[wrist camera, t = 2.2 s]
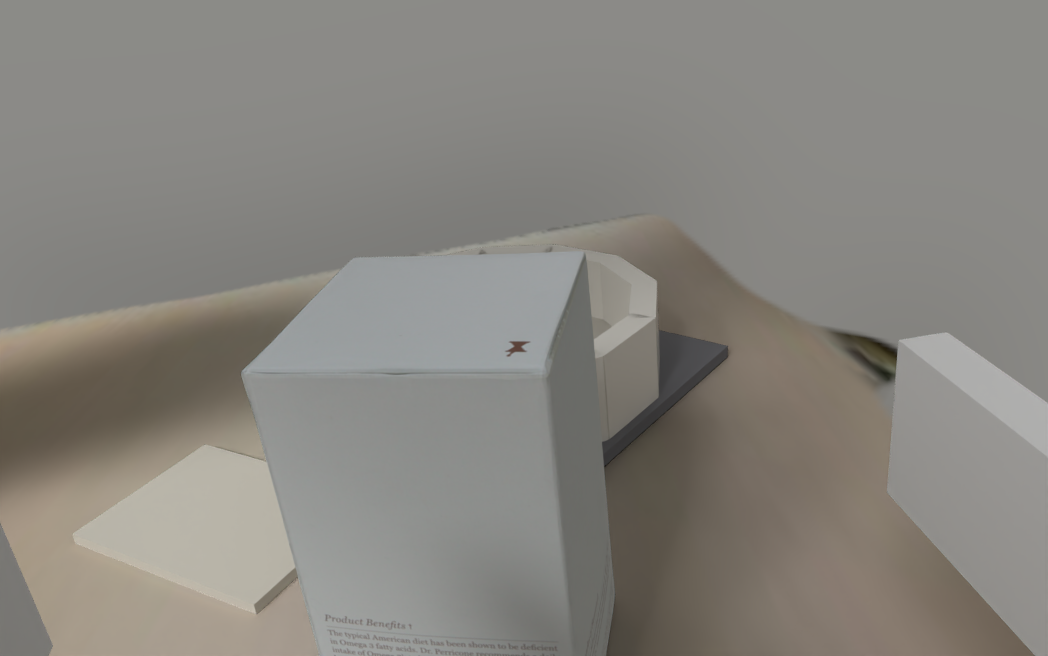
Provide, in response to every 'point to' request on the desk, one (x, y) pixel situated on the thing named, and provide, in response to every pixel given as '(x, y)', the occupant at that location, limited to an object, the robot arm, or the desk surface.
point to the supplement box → (443, 457)
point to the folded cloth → (203, 529)
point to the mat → (670, 383)
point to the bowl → (615, 332)
